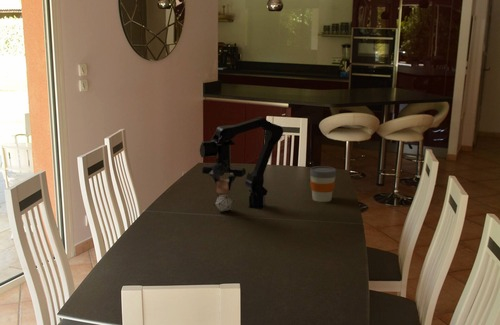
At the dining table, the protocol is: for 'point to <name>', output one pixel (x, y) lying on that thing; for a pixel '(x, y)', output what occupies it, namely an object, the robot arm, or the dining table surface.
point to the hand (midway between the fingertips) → (224, 189)
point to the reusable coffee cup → (322, 183)
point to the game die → (223, 203)
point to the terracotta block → (223, 186)
